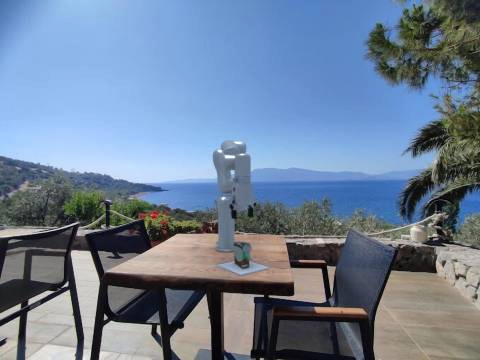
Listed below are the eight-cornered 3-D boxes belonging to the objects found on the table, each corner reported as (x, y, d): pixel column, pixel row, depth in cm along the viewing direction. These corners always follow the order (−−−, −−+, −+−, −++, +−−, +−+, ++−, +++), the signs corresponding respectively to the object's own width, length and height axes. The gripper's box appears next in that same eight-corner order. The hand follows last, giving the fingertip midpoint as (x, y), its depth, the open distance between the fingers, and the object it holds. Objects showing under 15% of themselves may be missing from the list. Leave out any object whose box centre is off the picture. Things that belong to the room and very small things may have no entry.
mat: (216, 266, 130) (217, 264, 130) (243, 260, 139) (243, 259, 139) (241, 276, 115) (241, 274, 115) (269, 268, 125) (269, 267, 125)
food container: (256, 268, 124) (256, 245, 124) (243, 270, 121) (243, 246, 122) (245, 261, 135) (245, 240, 135) (233, 262, 133) (233, 241, 133)
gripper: (232, 180, 121) (232, 220, 120) (261, 180, 131) (262, 217, 131) (222, 180, 127) (222, 218, 126) (251, 180, 137) (251, 215, 137)
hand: (242, 217), depth 129 cm, fingers open, 9 cm apart
